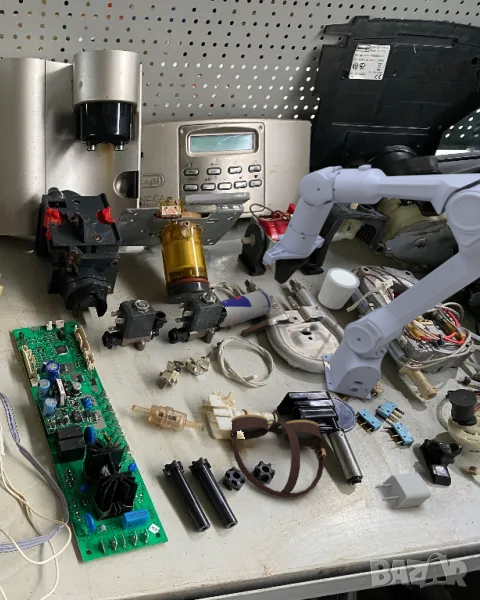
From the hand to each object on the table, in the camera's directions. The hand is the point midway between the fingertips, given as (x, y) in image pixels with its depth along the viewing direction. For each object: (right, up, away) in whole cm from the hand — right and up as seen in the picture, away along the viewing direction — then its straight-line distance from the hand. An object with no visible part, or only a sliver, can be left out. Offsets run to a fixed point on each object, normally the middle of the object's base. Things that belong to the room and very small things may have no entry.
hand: (279, 280), depth 109 cm
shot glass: (+15, -4, +10) cm, 19 cm away
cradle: (-5, -7, +4) cm, 9 cm away
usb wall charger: (+9, -36, -24) cm, 44 cm away
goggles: (-9, -31, -22) cm, 39 cm away
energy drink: (-2, -4, +4) cm, 6 cm away
